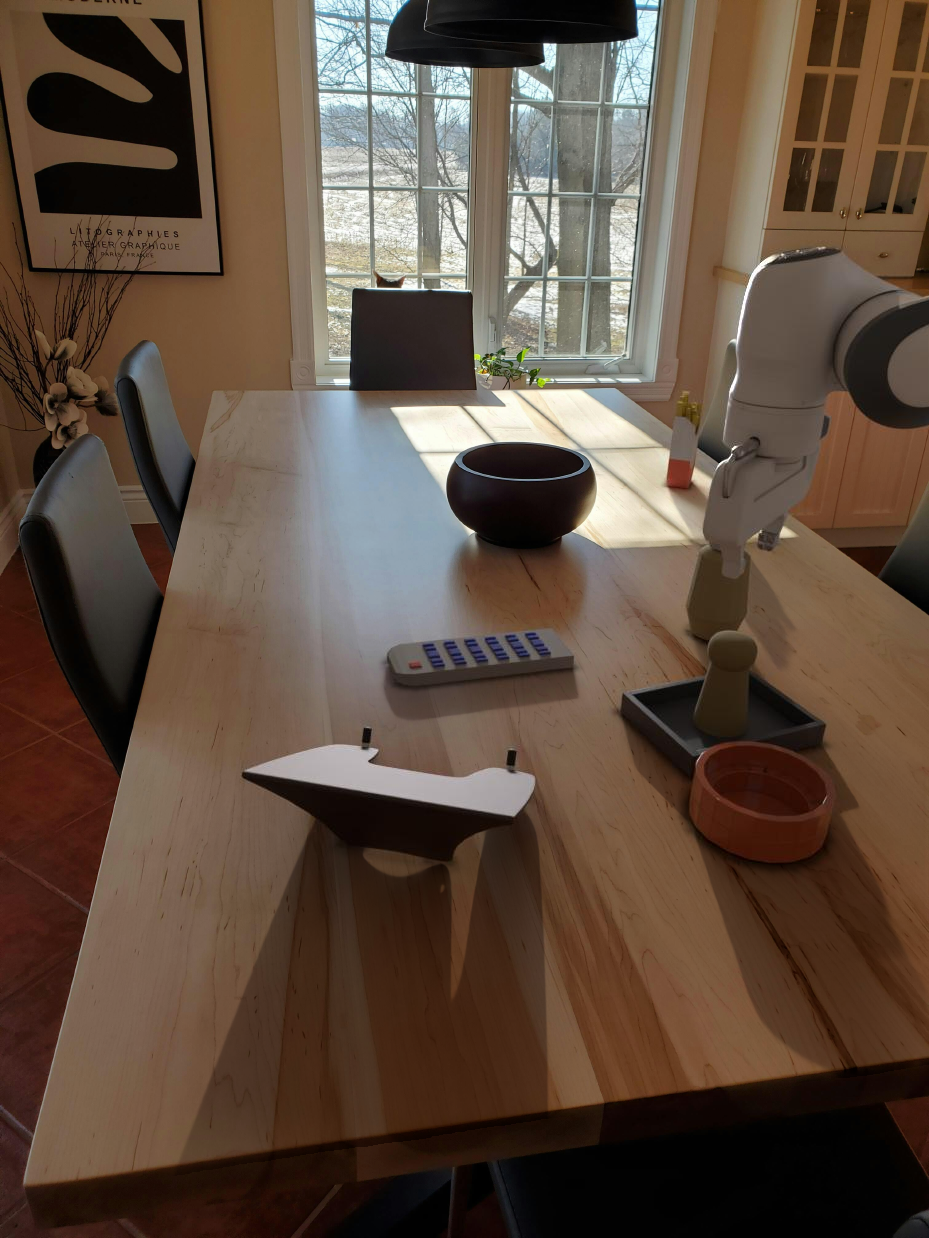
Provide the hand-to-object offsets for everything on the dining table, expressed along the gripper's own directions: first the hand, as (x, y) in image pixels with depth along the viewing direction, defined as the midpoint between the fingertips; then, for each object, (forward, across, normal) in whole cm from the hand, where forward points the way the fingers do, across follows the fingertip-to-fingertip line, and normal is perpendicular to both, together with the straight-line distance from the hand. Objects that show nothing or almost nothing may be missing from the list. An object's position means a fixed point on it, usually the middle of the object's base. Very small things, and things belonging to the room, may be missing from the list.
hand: (750, 561), depth 93 cm
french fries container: (+20, +83, +44) cm, 96 cm away
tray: (+20, 0, 0) cm, 20 cm away
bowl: (+20, -14, -9) cm, 26 cm away
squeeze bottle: (+20, +22, +11) cm, 32 cm away
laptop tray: (+20, -35, +17) cm, 43 cm away
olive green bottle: (+20, 0, 0) cm, 20 cm away
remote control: (+20, -5, +30) cm, 37 cm away
